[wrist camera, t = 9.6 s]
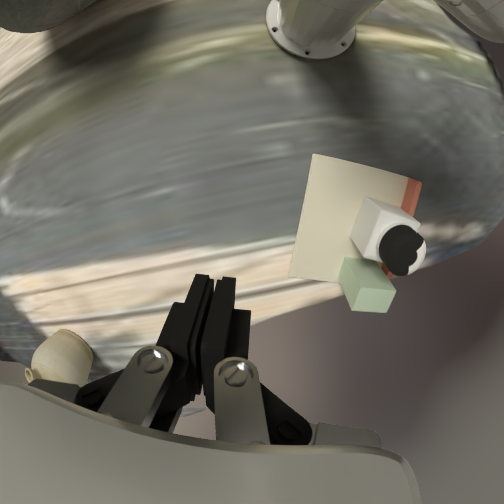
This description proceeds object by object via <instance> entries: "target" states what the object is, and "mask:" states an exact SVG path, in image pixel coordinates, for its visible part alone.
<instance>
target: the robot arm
mask: <svg viewBox="0 0 504 504" xmlns="http://www.w3.org/2000/svg"><path fill="white" fill-rule="evenodd" d="M278 1H279V2H278ZM382 1H383V0H272V1H271V2H270V4H269V5H268V8H267V11H266V26H267V29H268V32H269V34H270V35H271V37H272V38H273V40H274V41H275V42H276V43H277V44H278V45H279V46H281V47H282V48H283V49H284V50H286V51H288V52H290V53H291V54H294V55H296V56H299V57H302V58H307V59H315V60H320V59H328V58H332V57H335V56H337V55H339V54H341V53H342V52H344V51H345V50H346V49H347V48H348V47H349V46H350V45H351V43H352V42H353V39H354V37H355V30H356V28H355V25H356V24H357V23H358V22H360V21H361V20H362V19H363V18H364V17H365V16H366V15H367V14H368V13H370V12H371V11H372V10H373V9H374V8H375V7H376V6H377V5H379V4H380V3H381V2H382ZM434 1H435V2H437V3H438V4H439V5H441V6H442V7H443V8H444V9H446V10H447V11H448V12H450V13H451V14H452V15H453V16H454V17H456V18H457V19H458V20H459V21H460V22H462V23H463V24H464V25H465V26H467V27H468V28H469V29H471V30H472V31H473V32H474V33H476V34H478V35H479V36H481V37H483V38H485V39H487V40H489V41H493V42H497V43H504V0H434ZM273 30H276V32H273ZM341 44H343V45H344V47H343V46H342V45H341ZM305 52H308V55H306V54H305ZM235 287H236V278H232V277H223V278H222V280H217V283H216V287H215V290H214V279H210V277H209V275H203V274H196V275H195V277H194V280H193V282H192V285H191V287H190V290H189V292H188V295H187V298H186V300H185V303H179V302H174V303H173V305H172V307H171V310H170V312H169V315H168V317H167V319H166V322H165V324H164V326H163V329H162V331H161V334H160V336H159V339H158V341H157V344H156V346H147V347H143V348H141V349H140V350H138V351H137V352H136V353H135V354H134V356H133V357H132V359H131V360H130V362H129V363H128V365H127V366H126V368H125V369H123V370H120V371H118V372H115V373H113V374H111V375H108V376H106V377H103V378H101V379H98V380H96V381H93V382H91V383H88V384H86V385H84V386H83V387H79V386H78V384H71V383H64V382H57V381H51V380H45V379H35V380H33V381H31V382H30V383H29V384H28V385H25V384H21V383H15V382H0V504H422V501H421V497H420V492H419V489H418V484H417V481H416V478H415V476H414V473H413V471H412V468H411V467H410V465H409V463H408V462H407V461H406V460H405V459H404V458H403V457H402V456H401V455H399V454H397V453H395V452H392V451H389V450H386V449H382V442H381V438H380V436H379V435H378V434H377V433H376V432H375V431H373V430H370V429H364V428H355V427H347V426H339V425H332V424H325V423H318V425H317V424H311V423H308V422H307V420H305V419H304V418H303V417H302V416H300V415H299V414H298V413H297V412H295V411H294V410H293V409H292V408H290V407H289V406H288V405H286V404H285V403H284V402H283V401H282V400H281V399H279V398H278V397H277V396H276V395H274V394H273V393H272V392H271V391H270V390H269V389H267V388H266V387H265V386H264V385H262V383H260V381H259V374H258V371H257V368H256V367H255V366H254V364H253V363H252V362H250V361H249V360H248V348H249V333H250V319H251V310H240V309H234V303H235ZM202 384H203V389H204V390H203V391H204V395H205V397H206V405H207V407H208V408H209V409H210V410H211V411H212V412H213V413H214V414H215V428H216V440H208V439H201V438H194V437H189V436H183V435H178V434H173V431H174V428H175V426H176V424H177V422H178V419H179V417H180V415H181V412H182V408H183V406H185V405H186V404H188V403H190V401H194V399H195V395H196V394H198V395H200V393H201V389H202Z"/></svg>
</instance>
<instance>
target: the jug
mask: <svg viewBox="0 0 504 504" xmlns="http://www.w3.org/2000/svg"><path fill="white" fill-rule="evenodd" d="M92 361H93V353H92V350H91V349H90V347H89V346H88V345H87V343H86V342H85V341H84V340H83V339H82V338H80V337H79V336H78V335H76V334H75V333H73V332H71V331H69V330H64V329H62V330H59V331H57V332H56V333H54V334H53V335H52V336H51V337H49V338H48V339H47V340H46V341H44V342H43V343H42V344H41V345H40V346H39V347H38V348H37V350H36V351H35V353H34V355H33V358H32V365H31V368H32V369H29V368H26V369H25V375H26V378H27V380H28V382H29V383H30V382H31V381H33V380H35V379H45V380H51V381H57V382H64V383H71V384H78V386H79V387H83V386H84V385H86V383H87V380H88V377H89V373H90V370H91V366H92Z"/></svg>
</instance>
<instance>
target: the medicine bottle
mask: <svg viewBox="0 0 504 504" xmlns="http://www.w3.org/2000/svg"><path fill="white" fill-rule="evenodd" d="M420 226H421V224H420V222H418V221H417V220H416V219H414V218H413V217H412V216H410V215H409V214H408V213H406V212H405V211H404V210H402V209H401V208H399V207H397V206H394V205H391V204H388V203H385V202H382V201H379V200H376V199H373V198H370V197H367V196H365V197H364V198H363V201H362V204H361V207H360V210H359V213H358V215H357V218H356V221H355V224H354V227H353V229H352V232H351V235H350V238H351V240H352V241H353V242H354V244H355V245H356V247H357V248H358V250H359V251H360V253H361V254H362V256H363V257H364V258H367V259H371V260H375V261H379V262H383V263H384V264H385V266H386V267H387V268H388V270H389V271H390V272H391V273H392V274H394V275H397V276H404V275H408V274H410V273H412V272H414V271H415V270H417V269H418V268H419V266H420V265H421V264H422V262H423V260H424V257H425V254H426V244H425V241H424V239H423V238H422V236H420V235H419V234H418V231H419V228H420Z"/></svg>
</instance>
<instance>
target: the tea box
mask: <svg viewBox="0 0 504 504" xmlns="http://www.w3.org/2000/svg"><path fill="white" fill-rule="evenodd" d="M338 279H339V281H340V284H341V286H342V288H343V291H344V293H345V296H346V298H347V301H348V303H349V305H350V308H351V310H352V311H365V312H381V313H386V312H387V310H388V308H389V306H390V304H391V302H392V300H393V297H394V295H395V293H396V290H395V288H394V287H393V285H392V284H391V282H390V281H389V279H388V278H387V276H386V275H385V273H384V272H383V270H382V269H381V268H380V266H379V265H378V263H377V262H376V261H372V260H365V259H359V258H352V257H345V256H344V259H343V263H342V266H341V269H340V272H339V275H338Z"/></svg>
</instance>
